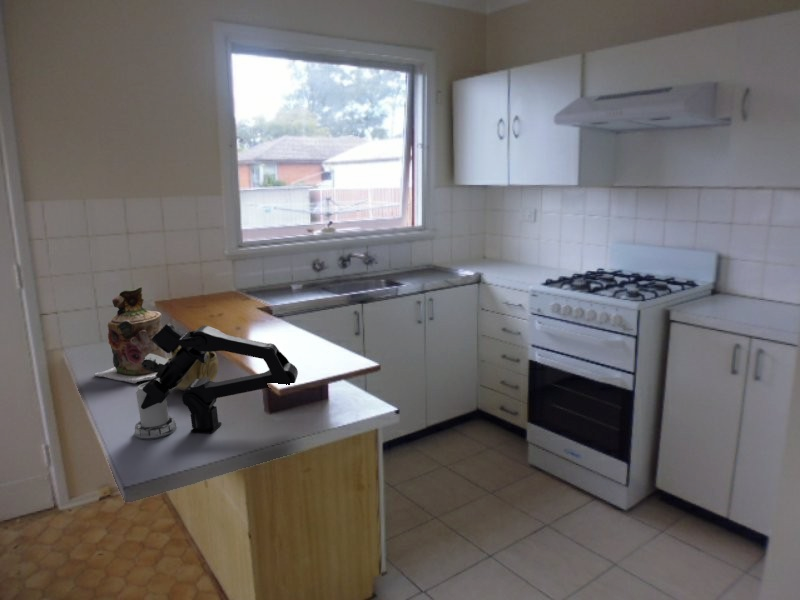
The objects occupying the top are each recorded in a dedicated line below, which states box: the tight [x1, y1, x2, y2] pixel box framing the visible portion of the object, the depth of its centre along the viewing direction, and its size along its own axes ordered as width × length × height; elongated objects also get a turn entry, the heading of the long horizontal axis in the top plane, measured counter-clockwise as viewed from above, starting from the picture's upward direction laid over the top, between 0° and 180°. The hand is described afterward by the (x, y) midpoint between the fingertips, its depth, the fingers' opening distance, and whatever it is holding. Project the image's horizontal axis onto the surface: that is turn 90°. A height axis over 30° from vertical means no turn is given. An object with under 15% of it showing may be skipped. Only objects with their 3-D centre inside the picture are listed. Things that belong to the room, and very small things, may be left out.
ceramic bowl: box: [167, 346, 219, 392], centre depth 203 cm, size 22×17×15 cm
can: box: [135, 381, 170, 429], centre depth 170 cm, size 8×8×12 cm
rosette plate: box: [134, 415, 177, 441], centre depth 172 cm, size 11×11×2 cm
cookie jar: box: [93, 286, 169, 384], centre depth 221 cm, size 25×25×32 cm
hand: (147, 402), depth 170 cm, fingers closed on can, 7 cm apart
